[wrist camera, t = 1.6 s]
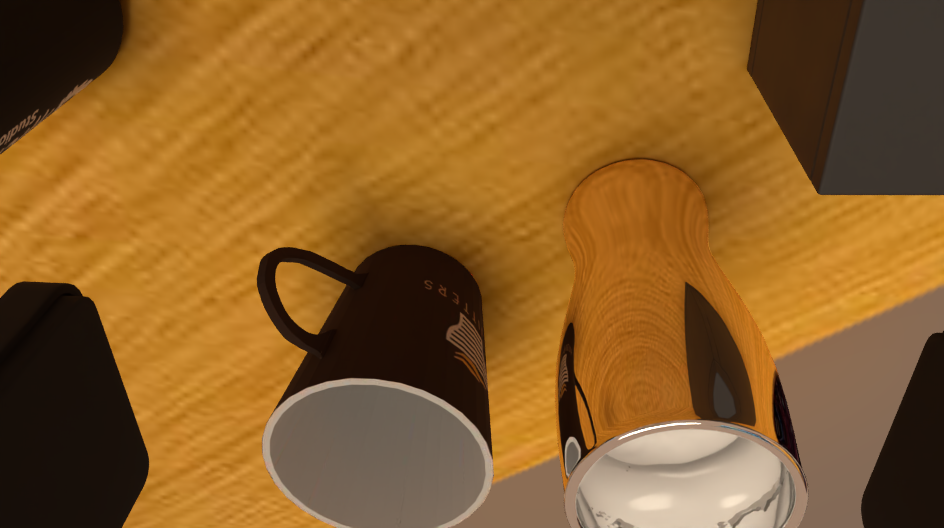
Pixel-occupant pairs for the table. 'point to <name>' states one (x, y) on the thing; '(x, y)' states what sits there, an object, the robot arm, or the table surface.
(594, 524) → the beer glass
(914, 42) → the dark grey box
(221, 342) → the table surface
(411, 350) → the coffee mug
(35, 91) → the beverage can
